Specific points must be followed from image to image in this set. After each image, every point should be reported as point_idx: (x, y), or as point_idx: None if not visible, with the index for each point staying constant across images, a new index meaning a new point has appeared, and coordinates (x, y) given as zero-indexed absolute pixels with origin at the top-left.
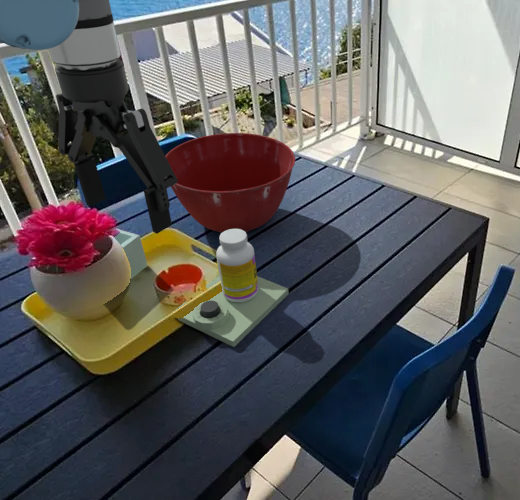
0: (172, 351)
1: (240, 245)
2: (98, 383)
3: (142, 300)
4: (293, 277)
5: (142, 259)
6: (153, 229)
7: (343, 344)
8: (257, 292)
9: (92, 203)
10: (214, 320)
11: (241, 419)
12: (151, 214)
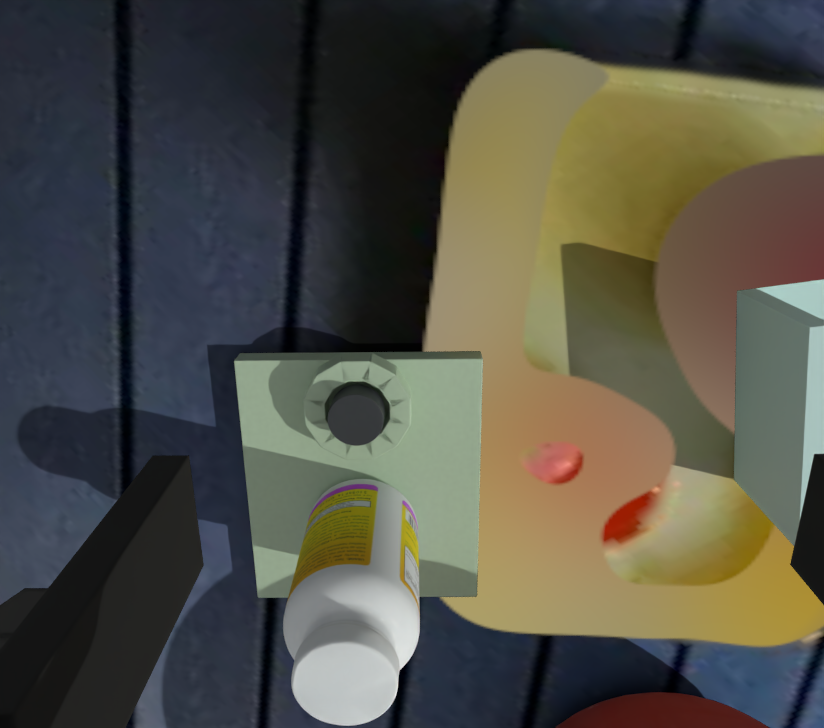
0: (379, 249)
1: (295, 658)
2: (471, 36)
3: (626, 357)
4: None
5: (750, 484)
6: (169, 467)
7: (8, 506)
8: None
9: (815, 479)
10: (315, 388)
11: (31, 168)
12: (103, 539)
